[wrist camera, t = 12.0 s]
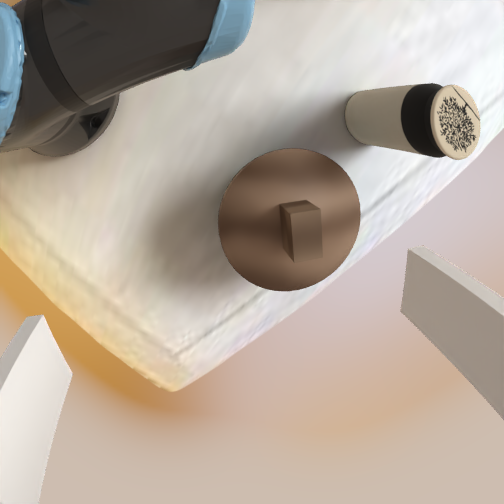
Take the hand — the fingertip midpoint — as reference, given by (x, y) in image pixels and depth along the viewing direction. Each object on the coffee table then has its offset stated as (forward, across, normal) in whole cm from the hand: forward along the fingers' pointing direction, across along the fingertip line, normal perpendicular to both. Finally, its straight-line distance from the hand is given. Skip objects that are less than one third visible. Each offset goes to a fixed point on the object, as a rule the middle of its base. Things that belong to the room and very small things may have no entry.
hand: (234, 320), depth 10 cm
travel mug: (+32, +24, +6) cm, 40 cm away
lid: (+24, +9, -5) cm, 26 cm away
